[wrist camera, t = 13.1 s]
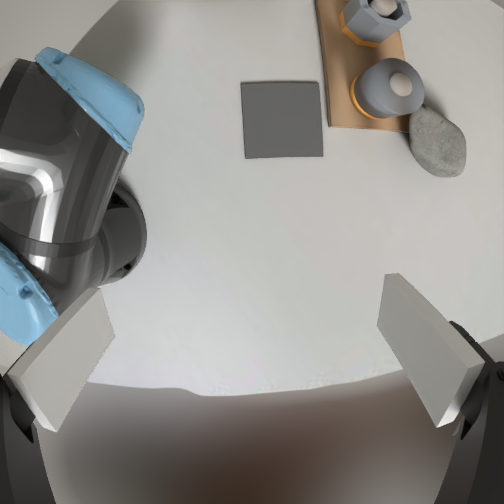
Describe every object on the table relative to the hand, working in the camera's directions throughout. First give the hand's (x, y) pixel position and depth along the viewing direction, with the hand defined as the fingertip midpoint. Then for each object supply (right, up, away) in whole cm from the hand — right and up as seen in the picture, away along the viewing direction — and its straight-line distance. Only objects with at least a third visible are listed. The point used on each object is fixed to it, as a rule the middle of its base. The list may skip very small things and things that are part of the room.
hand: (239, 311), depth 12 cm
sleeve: (+16, +33, +15) cm, 40 cm away
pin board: (+16, +29, +18) cm, 37 cm away
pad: (+4, +19, +21) cm, 29 cm away
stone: (+25, +19, +22) cm, 39 cm away
